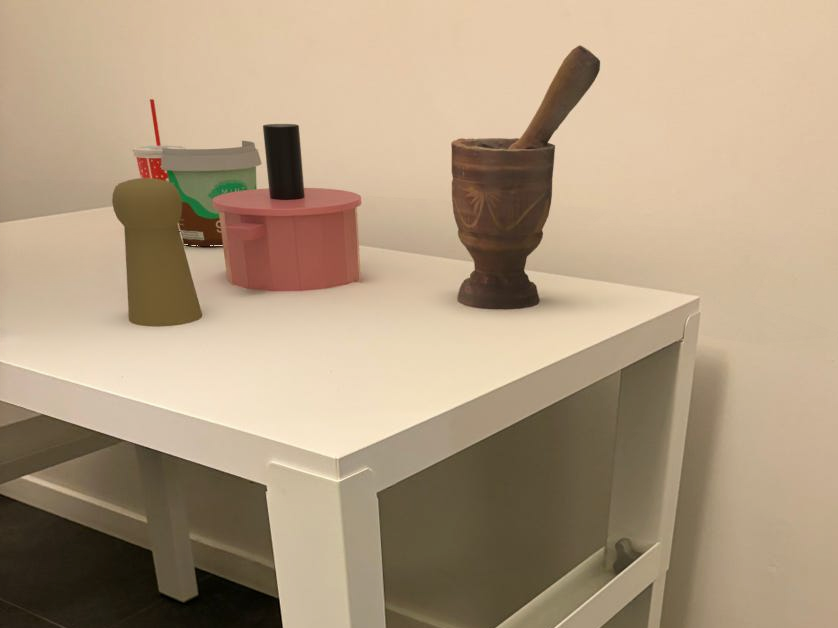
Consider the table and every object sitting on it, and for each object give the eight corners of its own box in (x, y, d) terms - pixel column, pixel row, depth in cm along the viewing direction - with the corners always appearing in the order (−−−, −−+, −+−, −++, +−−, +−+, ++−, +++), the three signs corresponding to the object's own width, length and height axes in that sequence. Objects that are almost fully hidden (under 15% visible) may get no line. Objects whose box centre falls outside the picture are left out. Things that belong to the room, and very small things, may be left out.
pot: (186, 296, 90) (174, 214, 87) (284, 260, 105) (277, 188, 101) (308, 308, 87) (300, 223, 83) (392, 269, 101) (389, 195, 97)
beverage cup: (206, 226, 123) (189, 98, 115) (179, 234, 118) (159, 101, 110) (163, 223, 124) (144, 97, 117) (135, 231, 119) (113, 100, 112)
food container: (208, 253, 108) (195, 152, 102) (173, 247, 111) (158, 148, 106) (291, 237, 116) (282, 143, 111) (255, 232, 119) (245, 140, 114)
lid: (184, 218, 89) (171, 128, 85) (262, 197, 100) (254, 117, 96) (319, 227, 85) (311, 134, 81) (385, 205, 96) (382, 122, 92)
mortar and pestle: (551, 289, 94) (562, 44, 83) (596, 309, 87) (613, 45, 76) (438, 299, 90) (434, 44, 79) (475, 321, 83) (476, 45, 72)
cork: (132, 336, 79) (105, 186, 73) (125, 318, 83) (99, 176, 78) (209, 329, 80) (189, 182, 75) (198, 312, 85) (178, 173, 79)
